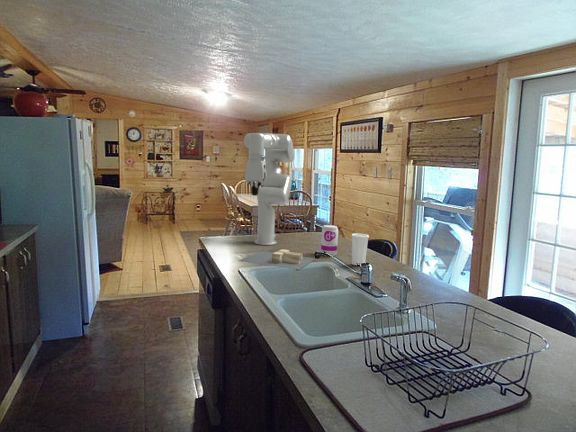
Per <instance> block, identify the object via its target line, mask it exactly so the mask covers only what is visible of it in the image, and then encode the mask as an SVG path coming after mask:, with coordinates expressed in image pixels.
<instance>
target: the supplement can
mask: <svg viewBox="0 0 576 432" xmlns="http://www.w3.org/2000/svg"><path fill="white" fill-rule="evenodd" d="M320 240H321V243H320V253H321V252H324V253H328V254H330V255H332V256H334V257H336V256H337V255H338V244H339V243H338V240H339V228H338V226H337V225H330V224H329V225H328V224H324V225H323V226H322V228H321V239H320ZM335 255H336V256H335Z"/></svg>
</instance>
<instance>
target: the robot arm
mask: <svg viewBox="0 0 576 432" xmlns="http://www.w3.org/2000/svg"><path fill="white" fill-rule="evenodd" d="M243 143H244V146H245V147H246V148H248V160H247V161H246V166H245V171H244V173H245V174H244V178H245V182H244V183H246V184H249V186H250V187H251V196H256V197H257V199H256V200H257V236H256V237H257V238H256V239H255V240H254V244H256V245H260V246H261V245H262V246H273V245H276V244H277V243H278V241H277V240H275V238H276V237H277V235H276V234H275V225H276V223H275V222H276V211H275V209H274V207H273V206H285V205H287V203H288V201H289V197H290V193H291V191H292V190H291V189H292V183H293V181H292V177H291V176H290V175H288V174H286V173H285V174H284V173H282V172H283V170H282V168H281V167H280V165H279V164H278V163H293V161H294V160H295V149H294V144H293V140H292V138H291V136H290V135H289V134H287V133H270V132H251V133H250V132H249V133H246V134H245V135H244V138H243ZM265 150H266V151H265ZM261 185H263V186H261ZM272 205H273V206H272Z"/></svg>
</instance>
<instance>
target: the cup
mask: <svg viewBox="0 0 576 432" xmlns="http://www.w3.org/2000/svg"><path fill="white" fill-rule="evenodd" d="M369 238H370V236H369V234H365V233H351V265H353V266H357V264H356V262H355V260H356V261H357V262H358V263H360V264H361V263H365V264H366V258H367V252H368V251H367V250H368V243H369Z"/></svg>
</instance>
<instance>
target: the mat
mask: <svg viewBox="0 0 576 432" xmlns="http://www.w3.org/2000/svg"><path fill="white" fill-rule="evenodd" d="M273 253H274V252H271V251H270V252H269V251H262V250H260V251H258V252H255V253H251V254H250V255H248V256H246V257H243V258H241V259H239V260H238V262H241V263H249V264H257V265H264V266H269V267H270V266H271V267H277V268H283V269H284V268H285V269H292V270H295V271H300V270H301V269H303V268H305V267H306V266H308V265H309V264H311V263H312V262H314V261H316V260H317V259H316V258H313V257H307V256H302V262H301V263H300V264H296V263H289V262H281V263H273V262H272V254H273ZM313 260H314V261H313ZM310 262H311V263H310ZM307 264H308V265H307Z"/></svg>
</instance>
